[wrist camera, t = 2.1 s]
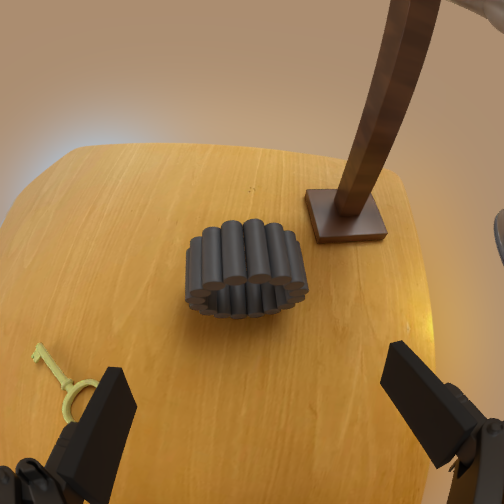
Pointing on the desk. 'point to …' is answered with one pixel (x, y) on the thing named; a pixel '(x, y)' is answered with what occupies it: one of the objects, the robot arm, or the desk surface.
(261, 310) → the grey cylinder ring
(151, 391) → the desk surface
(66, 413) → the key
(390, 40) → the brown pillar stand
